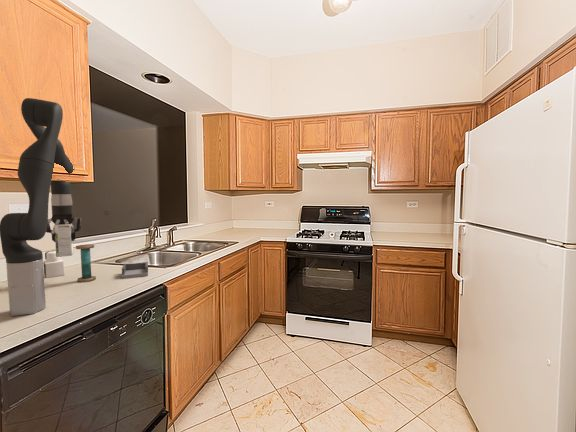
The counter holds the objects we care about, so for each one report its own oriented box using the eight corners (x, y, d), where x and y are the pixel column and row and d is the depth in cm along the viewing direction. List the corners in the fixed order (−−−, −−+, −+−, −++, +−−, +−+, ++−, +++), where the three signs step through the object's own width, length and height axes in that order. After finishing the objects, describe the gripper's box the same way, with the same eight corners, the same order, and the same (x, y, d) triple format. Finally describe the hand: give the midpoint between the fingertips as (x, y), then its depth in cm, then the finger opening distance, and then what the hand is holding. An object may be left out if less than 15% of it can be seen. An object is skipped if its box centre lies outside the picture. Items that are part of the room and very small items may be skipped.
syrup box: (58, 254, 136) (56, 223, 135) (74, 253, 139) (72, 222, 138) (56, 257, 131) (53, 224, 130) (72, 255, 134) (70, 224, 133)
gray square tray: (147, 276, 143) (147, 266, 142) (121, 278, 138) (121, 269, 138) (148, 270, 153) (147, 262, 152) (124, 273, 148) (123, 264, 148)
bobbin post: (94, 281, 134) (92, 246, 133) (75, 283, 131) (74, 247, 130) (97, 277, 141) (95, 243, 139) (79, 278, 138) (77, 245, 137)
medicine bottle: (44, 275, 144) (42, 251, 143) (62, 272, 149) (60, 249, 148) (45, 278, 139) (44, 253, 138) (64, 275, 144) (63, 251, 143)
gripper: (39, 205, 127) (41, 243, 128) (79, 204, 133) (81, 241, 134) (44, 204, 134) (47, 241, 135) (82, 203, 140) (84, 238, 141)
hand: (64, 241), depth 135 cm, fingers closed on syrup box, 6 cm apart
